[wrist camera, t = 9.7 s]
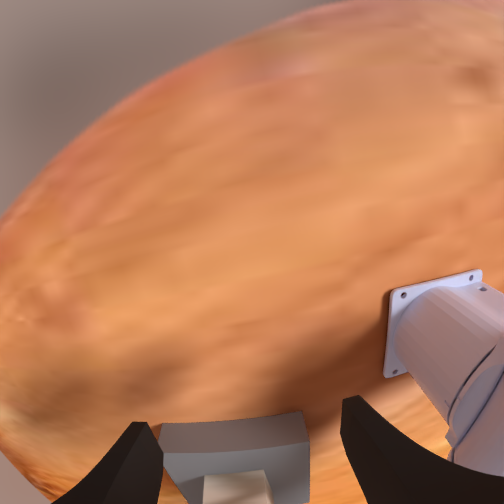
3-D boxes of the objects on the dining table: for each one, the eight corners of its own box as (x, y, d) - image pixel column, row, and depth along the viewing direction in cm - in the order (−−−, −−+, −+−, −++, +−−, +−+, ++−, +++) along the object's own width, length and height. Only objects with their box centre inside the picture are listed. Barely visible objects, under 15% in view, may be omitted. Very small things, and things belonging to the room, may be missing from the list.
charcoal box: (300, 407, 23) (309, 441, 19) (303, 474, 26) (309, 502, 22) (163, 419, 22) (155, 452, 19) (197, 484, 26) (194, 511, 22)
